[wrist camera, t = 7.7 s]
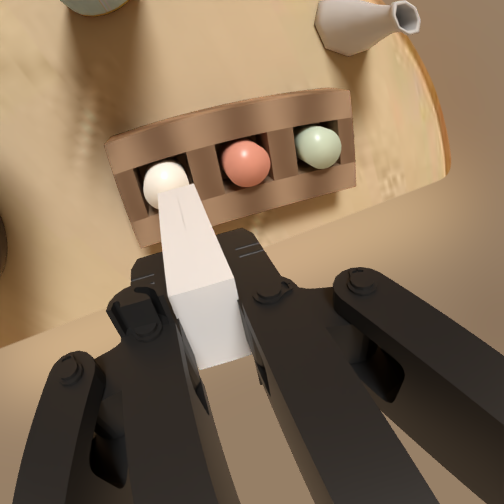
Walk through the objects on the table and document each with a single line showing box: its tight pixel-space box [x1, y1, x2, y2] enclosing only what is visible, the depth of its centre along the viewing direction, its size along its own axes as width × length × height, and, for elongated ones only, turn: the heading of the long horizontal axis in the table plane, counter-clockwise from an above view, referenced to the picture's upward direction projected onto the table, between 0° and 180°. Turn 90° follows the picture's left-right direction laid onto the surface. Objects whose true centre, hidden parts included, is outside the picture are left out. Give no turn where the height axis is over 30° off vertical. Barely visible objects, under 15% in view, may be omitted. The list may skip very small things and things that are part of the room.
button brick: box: [218, 137, 270, 187], centre depth 27 cm, size 4×4×4 cm
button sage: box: [293, 124, 341, 169], centre depth 28 cm, size 4×4×4 cm
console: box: [104, 88, 356, 248], centre depth 28 cm, size 22×10×4 cm, turn 100°
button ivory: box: [143, 157, 189, 209], centre depth 26 cm, size 4×4×4 cm
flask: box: [315, 0, 421, 57], centre depth 21 cm, size 7×7×10 cm
